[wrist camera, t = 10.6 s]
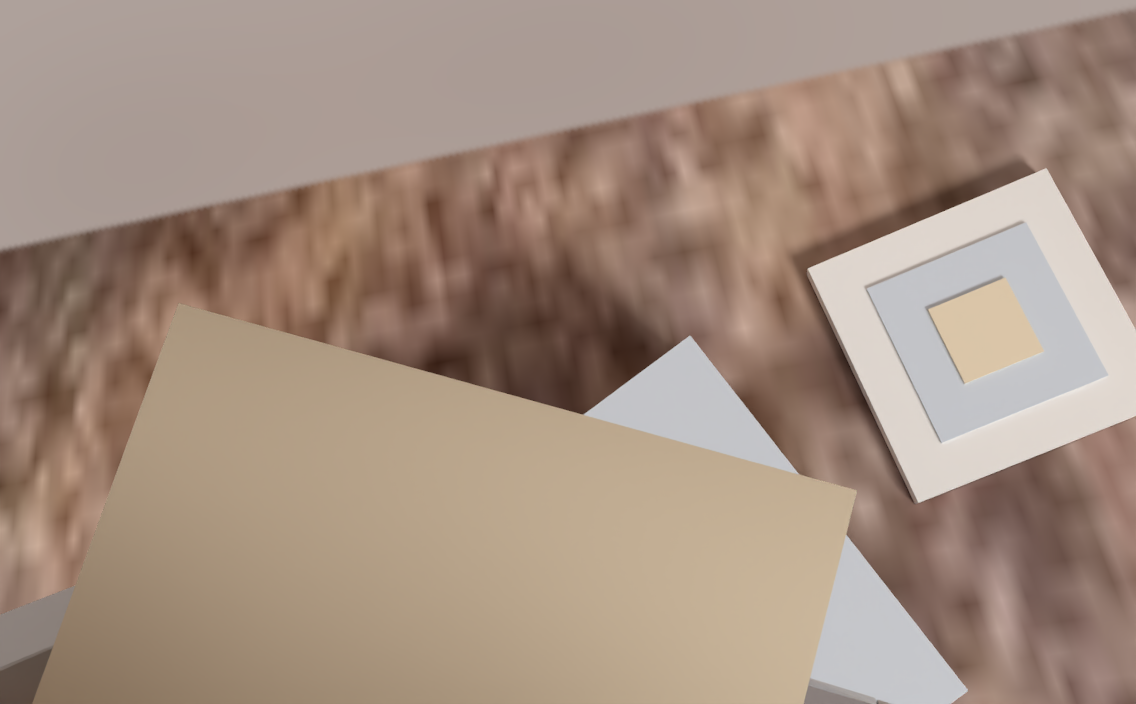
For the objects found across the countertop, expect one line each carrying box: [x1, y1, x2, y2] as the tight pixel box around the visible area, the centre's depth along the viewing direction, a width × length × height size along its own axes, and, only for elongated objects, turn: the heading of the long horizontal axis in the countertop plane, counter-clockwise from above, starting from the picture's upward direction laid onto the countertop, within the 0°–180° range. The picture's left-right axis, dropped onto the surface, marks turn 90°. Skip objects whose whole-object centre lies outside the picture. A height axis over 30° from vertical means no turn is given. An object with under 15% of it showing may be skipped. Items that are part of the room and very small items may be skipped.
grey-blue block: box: [584, 336, 968, 704], centre depth 27 cm, size 10×10×5 cm
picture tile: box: [807, 168, 1136, 504], centre depth 29 cm, size 7×7×1 cm
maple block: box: [32, 303, 857, 704], centre depth 12 cm, size 5×5×10 cm
